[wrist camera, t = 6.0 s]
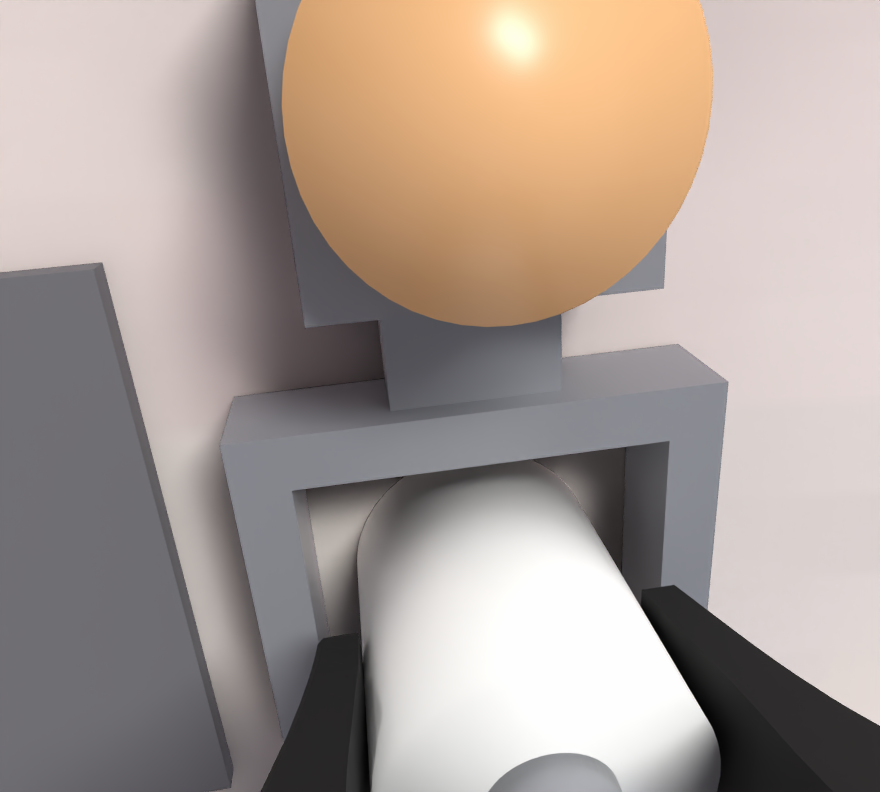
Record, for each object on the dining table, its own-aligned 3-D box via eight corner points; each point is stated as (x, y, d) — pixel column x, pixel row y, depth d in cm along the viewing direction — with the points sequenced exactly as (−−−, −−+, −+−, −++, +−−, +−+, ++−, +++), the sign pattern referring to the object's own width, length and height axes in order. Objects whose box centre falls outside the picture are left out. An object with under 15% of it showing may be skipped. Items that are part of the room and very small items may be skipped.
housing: (657, 676, 18) (716, 783, 15) (302, 735, 17) (296, 859, 14) (704, -94, 12) (821, -150, 9) (141, -62, 11) (77, -111, 8)
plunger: (598, 244, 13) (697, 304, 9) (319, 273, 12) (315, 348, 9) (601, -82, 11) (731, -159, 7) (273, -62, 10) (243, -134, 7)
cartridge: (586, 628, 17) (732, 941, 11) (371, 662, 17) (395, 1009, 10) (587, 436, 15) (768, 684, 9) (342, 468, 15) (353, 754, 8)
